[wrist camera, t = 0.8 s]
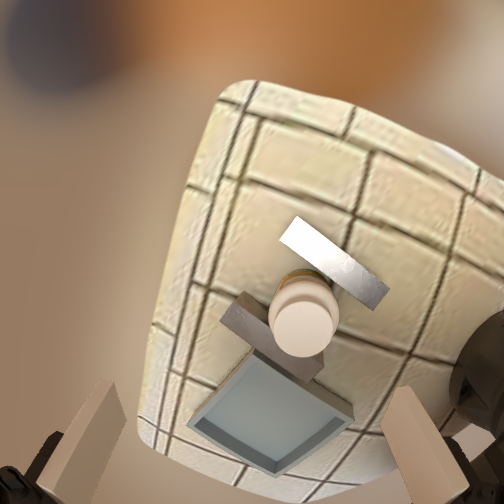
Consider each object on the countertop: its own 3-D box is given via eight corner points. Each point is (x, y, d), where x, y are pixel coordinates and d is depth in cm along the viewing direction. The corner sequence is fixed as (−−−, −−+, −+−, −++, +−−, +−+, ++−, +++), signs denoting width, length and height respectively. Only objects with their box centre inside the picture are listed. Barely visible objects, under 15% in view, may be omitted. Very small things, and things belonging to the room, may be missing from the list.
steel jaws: (378, 280, 26) (389, 288, 22) (307, 364, 28) (307, 383, 24) (297, 217, 27) (296, 216, 23) (230, 308, 29) (219, 321, 25)
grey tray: (351, 405, 27) (354, 420, 24) (278, 463, 29) (275, 478, 26) (257, 341, 28) (252, 353, 25) (194, 412, 31) (185, 425, 28)
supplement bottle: (309, 331, 27) (309, 380, 18) (265, 301, 28) (246, 337, 18) (342, 289, 26) (361, 321, 17) (298, 257, 27) (294, 273, 17)
